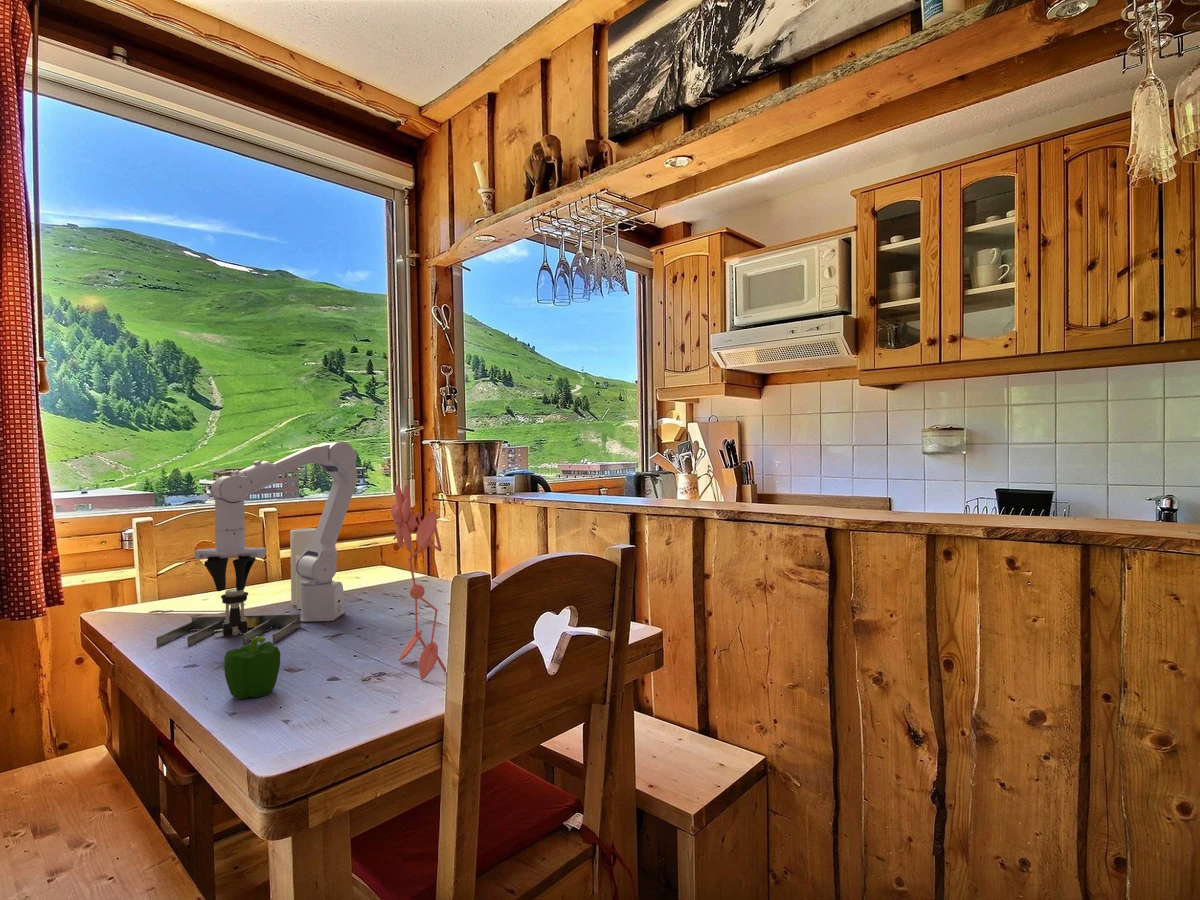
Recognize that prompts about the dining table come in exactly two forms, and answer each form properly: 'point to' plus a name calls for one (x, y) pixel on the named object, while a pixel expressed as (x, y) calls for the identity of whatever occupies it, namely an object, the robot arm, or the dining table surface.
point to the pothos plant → (427, 527)
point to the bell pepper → (252, 669)
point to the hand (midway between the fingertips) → (230, 590)
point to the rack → (216, 622)
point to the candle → (298, 545)
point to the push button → (234, 612)
